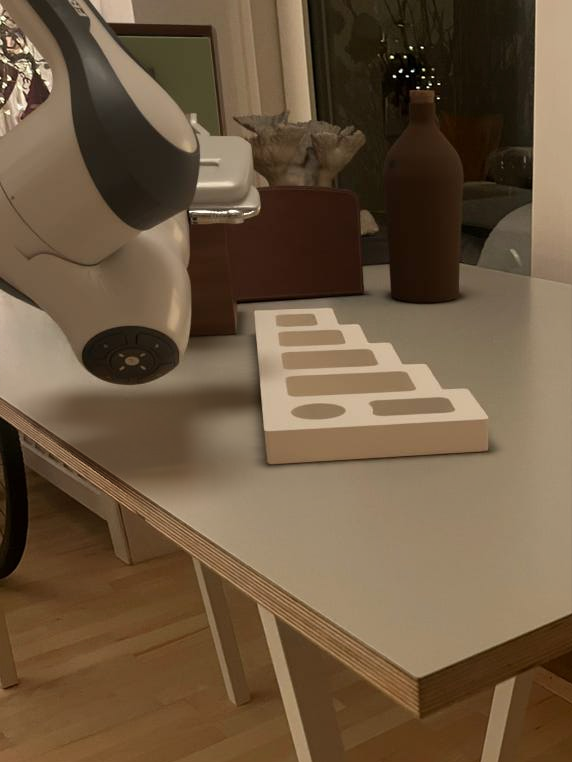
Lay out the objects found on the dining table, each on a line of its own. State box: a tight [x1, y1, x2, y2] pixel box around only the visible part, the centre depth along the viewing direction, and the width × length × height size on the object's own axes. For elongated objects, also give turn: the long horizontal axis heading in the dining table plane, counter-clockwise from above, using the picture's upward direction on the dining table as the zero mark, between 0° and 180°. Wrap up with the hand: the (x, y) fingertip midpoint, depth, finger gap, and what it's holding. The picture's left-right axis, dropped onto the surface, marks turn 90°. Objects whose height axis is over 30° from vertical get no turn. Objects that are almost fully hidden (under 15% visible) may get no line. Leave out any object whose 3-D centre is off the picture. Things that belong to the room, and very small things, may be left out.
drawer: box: [118, 36, 220, 136], centre depth 97 cm, size 23×14×8 cm, turn 11°
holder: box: [253, 307, 489, 465], centre depth 98 cm, size 45×18×3 cm, turn 12°
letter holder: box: [228, 185, 365, 303], centre depth 135 cm, size 10×20×14 cm, turn 113°
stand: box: [106, 21, 239, 337], centre depth 112 cm, size 14×14×31 cm
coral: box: [232, 109, 389, 266], centre depth 158 cm, size 25×20×22 cm
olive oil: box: [382, 89, 465, 304], centre depth 131 cm, size 11×11×25 cm
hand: (134, 120), depth 88 cm, fingers open, 8 cm apart
